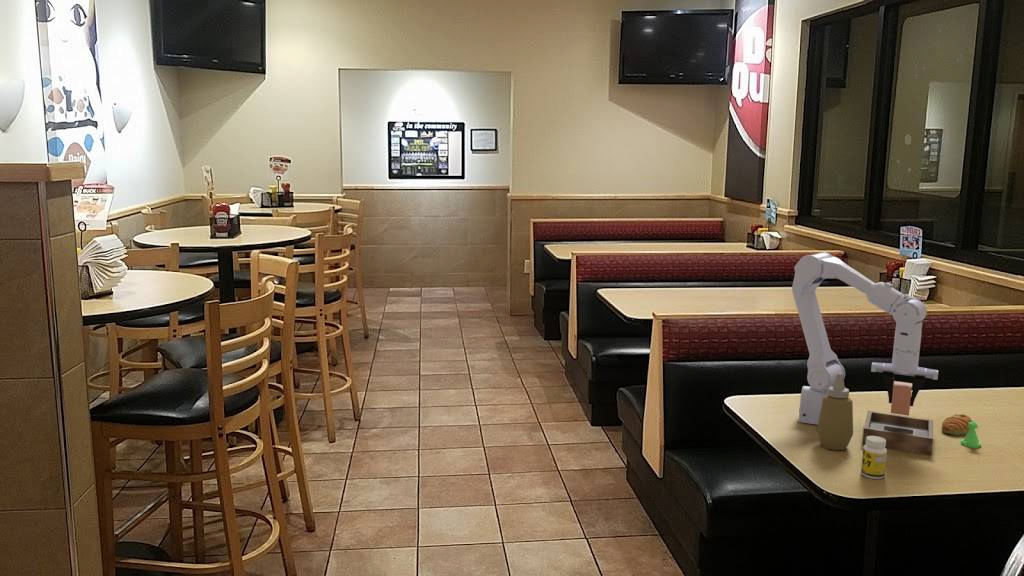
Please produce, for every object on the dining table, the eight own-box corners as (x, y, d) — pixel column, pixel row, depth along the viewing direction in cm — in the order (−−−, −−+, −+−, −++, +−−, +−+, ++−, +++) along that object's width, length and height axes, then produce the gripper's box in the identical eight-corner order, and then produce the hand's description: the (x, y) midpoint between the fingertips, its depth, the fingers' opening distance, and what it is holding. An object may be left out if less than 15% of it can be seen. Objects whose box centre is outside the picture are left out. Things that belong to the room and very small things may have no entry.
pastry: (962, 439, 202) (964, 424, 202) (934, 432, 207) (935, 418, 207) (976, 430, 209) (977, 416, 208) (948, 424, 213) (949, 410, 213)
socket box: (862, 443, 198) (863, 428, 197) (866, 425, 211) (868, 410, 210) (931, 455, 191) (933, 438, 190) (931, 435, 204) (933, 420, 204)
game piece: (982, 448, 196) (985, 424, 195) (962, 446, 197) (965, 422, 196) (978, 442, 200) (981, 419, 199) (959, 440, 201) (961, 417, 200)
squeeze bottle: (850, 442, 198) (857, 371, 195) (852, 454, 191) (859, 380, 188) (815, 438, 201) (821, 367, 198) (816, 450, 193) (822, 376, 190)
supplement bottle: (856, 471, 181) (860, 435, 180) (877, 470, 182) (880, 434, 180) (867, 479, 176) (871, 442, 175) (888, 479, 177) (892, 442, 175)
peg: (890, 413, 198) (893, 385, 197) (891, 408, 202) (894, 381, 200) (908, 415, 196) (911, 387, 195) (909, 411, 200) (912, 383, 199)
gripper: (872, 349, 196) (867, 403, 199) (940, 357, 190) (934, 413, 192) (874, 343, 202) (869, 395, 205) (940, 350, 196) (934, 404, 198)
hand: (900, 403), depth 199 cm, fingers closed on peg, 4 cm apart
